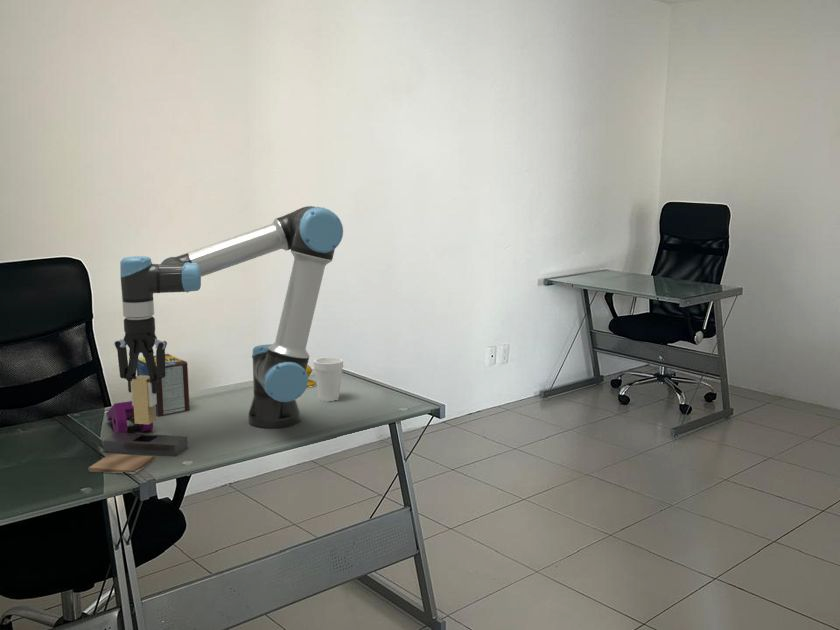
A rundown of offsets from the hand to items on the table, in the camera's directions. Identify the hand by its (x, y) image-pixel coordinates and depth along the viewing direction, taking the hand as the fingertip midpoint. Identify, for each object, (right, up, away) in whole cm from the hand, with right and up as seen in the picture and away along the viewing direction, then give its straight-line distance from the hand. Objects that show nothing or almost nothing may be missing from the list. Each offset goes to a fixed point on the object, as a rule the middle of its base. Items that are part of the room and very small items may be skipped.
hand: (144, 404), depth 202 cm
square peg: (0, -5, +1) cm, 5 cm away
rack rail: (0, -12, +2) cm, 12 cm away
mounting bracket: (-12, -9, +21) cm, 26 cm away
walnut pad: (-2, -14, -10) cm, 17 cm away
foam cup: (+42, -4, +51) cm, 66 cm away
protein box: (-8, -6, +39) cm, 40 cm away
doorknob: (+32, -1, +67) cm, 74 cm away
